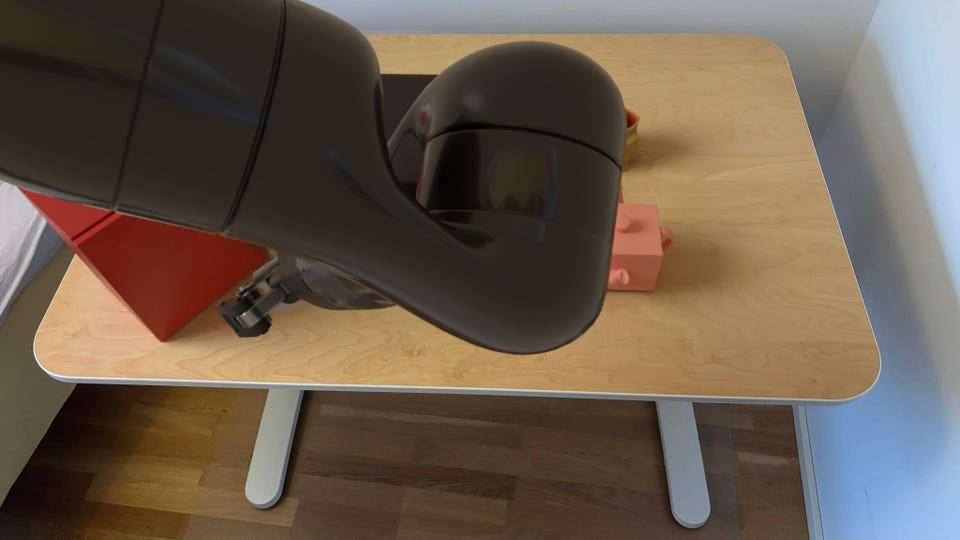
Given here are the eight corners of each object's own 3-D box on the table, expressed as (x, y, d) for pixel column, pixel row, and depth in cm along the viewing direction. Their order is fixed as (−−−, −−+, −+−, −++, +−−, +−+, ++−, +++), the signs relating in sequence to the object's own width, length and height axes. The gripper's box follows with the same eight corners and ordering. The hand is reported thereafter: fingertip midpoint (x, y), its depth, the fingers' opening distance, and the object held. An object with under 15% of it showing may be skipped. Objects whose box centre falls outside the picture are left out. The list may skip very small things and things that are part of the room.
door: (306, 272, 78) (259, 167, 64) (188, 370, 71) (106, 275, 57) (274, 247, 81) (222, 141, 67) (157, 338, 74) (72, 241, 60)
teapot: (561, 320, 72) (565, 276, 66) (561, 217, 81) (564, 168, 75) (672, 324, 71) (687, 279, 65) (659, 219, 80) (672, 169, 74)
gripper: (409, 121, 40) (330, 172, 54) (212, 271, 34) (181, 284, 48) (481, 221, 42) (386, 245, 56) (307, 379, 36) (250, 361, 50)
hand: (291, 263), depth 52 cm, fingers open, 8 cm apart
